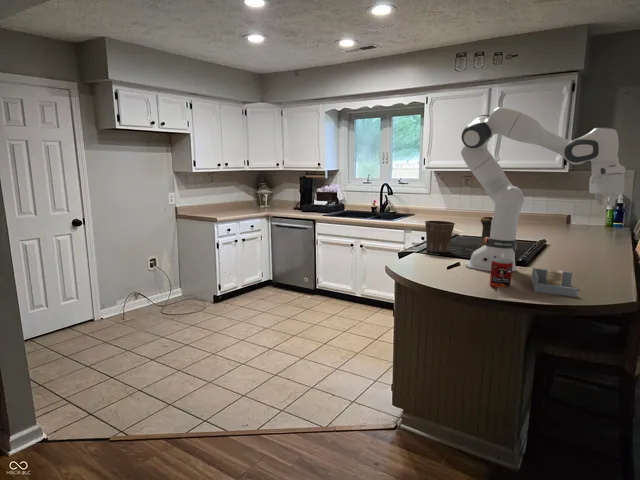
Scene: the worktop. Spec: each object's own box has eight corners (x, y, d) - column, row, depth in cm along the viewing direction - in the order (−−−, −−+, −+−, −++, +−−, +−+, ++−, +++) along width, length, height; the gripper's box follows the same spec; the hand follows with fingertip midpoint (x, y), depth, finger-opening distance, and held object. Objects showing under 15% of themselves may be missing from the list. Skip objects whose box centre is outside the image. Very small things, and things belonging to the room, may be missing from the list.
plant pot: (429, 246, 249) (431, 219, 246) (456, 250, 240) (459, 222, 237) (418, 251, 236) (420, 222, 233) (446, 255, 227) (449, 225, 224)
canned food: (489, 288, 168) (492, 260, 166) (489, 282, 175) (491, 256, 173) (510, 290, 165) (513, 262, 163) (509, 285, 173) (512, 258, 171)
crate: (533, 294, 161) (535, 277, 160) (531, 283, 176) (532, 268, 175) (576, 299, 156) (578, 282, 155) (569, 287, 171) (571, 272, 170)
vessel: (500, 258, 222) (503, 220, 218) (474, 254, 231) (476, 217, 228) (510, 254, 232) (513, 218, 229) (484, 251, 242) (487, 216, 238)
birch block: (546, 289, 165) (548, 271, 163) (544, 285, 169) (546, 268, 168) (560, 291, 163) (563, 273, 161) (559, 287, 167) (561, 270, 166)
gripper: (584, 171, 176) (585, 205, 177) (608, 169, 156) (609, 207, 157) (601, 170, 175) (601, 203, 176) (628, 167, 155) (628, 205, 156)
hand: (605, 205), depth 166 cm, fingers open, 8 cm apart
